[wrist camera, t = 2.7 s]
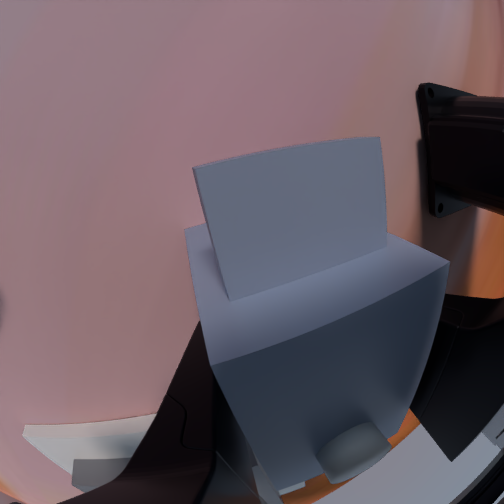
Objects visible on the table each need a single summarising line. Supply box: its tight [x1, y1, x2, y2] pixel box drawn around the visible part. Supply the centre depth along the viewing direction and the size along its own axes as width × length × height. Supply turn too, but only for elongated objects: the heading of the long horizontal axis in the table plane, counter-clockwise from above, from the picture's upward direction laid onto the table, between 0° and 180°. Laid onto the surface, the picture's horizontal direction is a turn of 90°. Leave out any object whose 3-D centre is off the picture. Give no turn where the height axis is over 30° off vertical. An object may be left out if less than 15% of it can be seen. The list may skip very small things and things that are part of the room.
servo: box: [184, 137, 450, 491], centre depth 7 cm, size 4×10×7 cm, turn 12°
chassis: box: [22, 413, 305, 504], centre depth 12 cm, size 16×18×3 cm
